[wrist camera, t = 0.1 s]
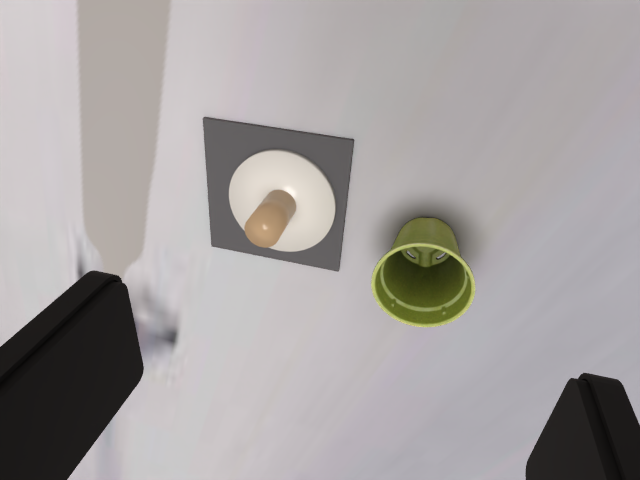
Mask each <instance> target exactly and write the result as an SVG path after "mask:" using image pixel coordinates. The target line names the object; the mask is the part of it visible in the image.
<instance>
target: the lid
mask: <svg viewBox="0 0 640 480" xmlns="http://www.w3.org/2000/svg"><path fill="white" fill-rule="evenodd" d="M229 202H230V206H231V209H232V212H233V215H234V217H235V219H236V220H237V222H238V223H239V225H240V226H241V228H242V229H243V230H244V231H245V234H246V236H247V238H248V239H249V240H250V241H251V242H252V243H253V244H255V245H257V246H259V247H264V248H267V247H269V248H271V249H275V250H279V251H286V252H294V251H301V250H305V249H308V248H310V247H312V246H314V245H316V244H317V243H319V242H320V241H321V240H322V239H323V238H324V237H325V236H326V235H327V233H328V232H329V230H330V228H331V226H332V224H333V221H334V218H335V214H336V197H335V193H334V190H333V187H332V185H331V183H330V181H329V179H328V177H327V176H326V175H325V173H324V172H323V171H322V170H321V169H320V167H319V166H317V165H316V164H315V163H314V162H313V161H311V160H310V159H308V158H307V157H305V156H303V155H301V154H299V153H296V152H293V151H290V150H285V149H268V150H263V151H260V152H257V153H255V154H253V155H251V156H250V157H249V158H247V159H246V160H245V161H244V162H243V163H242V164H241V165H240V166H239V167H238V168H237V170H236V171H235V173H234V174H233V176H232V179H231V182H230V187H229Z"/></svg>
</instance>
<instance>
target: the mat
mask: <svg viewBox="0 0 640 480" xmlns="http://www.w3.org/2000/svg"><path fill="white" fill-rule="evenodd" d="M203 127H204V142H205V157H206V171H207V186H208V201H209V216H210V230H211V245H212V246H213V247H218V248H223V249H228V250H233V251H238V252H243V253H248V254H253V255H258V256H263V257H268V258H273V259H278V260H283V261H288V262H293V263H298V264H303V265H308V266H313V267H318V268H323V269H328V270H333V271H339V266H340V257H341V248H342V240H343V231H344V222H345V213H346V205H347V196H348V187H349V179H350V170H351V161H352V152H353V144H354V140H353V139H347V138H340V137H333V136H327V135H320V134H313V133H307V132H300V131H293V130H287V129H280V128H273V127H267V126H260V125H254V124H247V123H240V122H234V121H227V120H220V119H214V118H207V117H204V118H203ZM268 149H285V150H290V151H293V152H296V153H299V154H301V155H303V156H305V157H307V158H308V159H310V160H311V161H313V162H314V163H315V164H316V165H317V166H319V167H320V169H321V170H322V171H323V172H324V173H325V175H326V176H327V177H328V179H329V181H330V183H331V185H332V187H333V190H334V193H335V197H336V214H335V218H334V221H333V224H332V226H331V228H330V230H329V232H328V233H327V235H326V236H325V237H324V238H323V239H322V240H321V241H320V242H319V243H317V244H316V245H314V246H312V247H310V248H308V249H305V250H301V251H294V252H286V251H279V250H275V249H271V248H269V247H267V248H264V247H259V246H257V245H255V244H253V243H252V242H251V241H250V240H249V239H248V238H247V236H246V234H245V231H244V230H243V229H242V228H241V226H240V225H239V223H238V222H237V220H236V219H235V217H234V215H233V212H232V209H231V206H230V202H229V187H230V182H231V179H232V176H233V174H234V173H235V171H236V170H237V168H238V167H239V166H240V165H241V164H242V163H243V162H244V161H245V160H246V159H247V158H249V157H250V156H251V155H253V154H255V153H257V152H260V151H263V150H268Z"/></svg>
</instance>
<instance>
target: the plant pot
mask: <svg viewBox="0 0 640 480" xmlns="http://www.w3.org/2000/svg"><path fill="white" fill-rule="evenodd" d="M407 250H408V251H409V252H410V253H411V254H412V255H413V256H414V257H416V258H412V257H410V256H409V255H408V254H407V252H406V251H407ZM444 252H446V254H445V255H444V257H442V258H441V259H436V257H438V256H440V255H441V254H443V253H444ZM371 287H372V292H373V295H374V298H375V300H376V302H377V303H378V305H379V306H380V307H381V309H382V310H383V311H385V312H386V313H387V314H388V315H389V316H391V317H392V318H394V319H396V320H398V321H400V322H402V323H405V324H408V325H412V326H417V327H436V326H441V325H444V324H447V323H450V322H452V321H454V320H456V319H457V318H459V317H460V316H461V315H463V314H464V313H465V312H466V311H467V309H468V308H469V306H470V305H471V303H472V301H473V298H474V295H475V280H474V276H473V273H472V271H471V269H470V267H469V266H468V264H467V263H466V262H465V261H464V260H463V259H462V258H461V256H460V252H459V249H458V245H457V242H456V239H455V236H454V233H453V231H452V230H451V228H450V227H449V226H448V225H447V224H446V223H444V222H443V221H441V220H439V219H436V218H416V219H413V220H411V221H409V222H408V223H406V224H405V225H404V226H403V227H402V229H401V230H400V232H399V234H398V236H397V238H396V240H395V242H394V244H393V246H392V248H391V250H390V251H389V252H387V253H386V254H385V255H384V256H383V257H382V258H381V259H380V260H379V262H378V263H377V265H376V267H375V269H374V271H373V274H372V280H371Z"/></svg>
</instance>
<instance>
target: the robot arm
mask: <svg viewBox="0 0 640 480" xmlns="http://www.w3.org/2000/svg"><path fill="white" fill-rule="evenodd" d="M143 369H144V367H143V361H142V356H141V352H140V347H139V342H138V337H137V332H136V327H135V323H134V318H133V313H132V308H131V303H130V299H129V294H128V289H127V286H126V285H125V284H124V283H122V280H121V278H120V277H119V276H117V275H113V274H108V273H104V272H99V271H90V272H88V273H87V274H85V275H84V276H83V277H82V278H81V279H79V280H78V281H77V282H76V283H75V284H73V285H72V286H71V287H70V288H69V289H68V290H66V291H65V292H64V293H63V294H62V295H61V296H59V297H58V298H57V299H56V300H55V301H54V302H52V303H51V304H50V305H49V306H48V307H47V308H45V309H44V310H43V311H42V312H41V313H40V314H38V315H37V316H36V317H35V318H34V319H33V320H31V321H30V322H29V323H28V324H27V325H25V326H24V327H23V328H22V329H21V330H20V331H18V332H17V333H16V334H15V335H14V336H13V337H11V338H10V339H9V340H8V341H7V342H6V343H4V344H3V345H2V346H1V347H0V480H67V479H68V478H69V476H70V475H71V474H72V472H73V471H74V470H75V468H76V467H77V465H78V464H79V463H80V461H81V460H82V459H83V457H84V456H85V455H86V453H87V452H88V451H89V449H90V448H91V447H92V445H93V444H94V442H95V441H96V440H97V438H98V437H99V436H100V434H101V433H102V432H103V430H104V429H105V428H106V426H107V425H108V424H109V422H110V421H111V419H112V418H113V417H114V415H115V414H116V413H117V411H118V410H119V409H120V407H121V406H122V405H123V403H124V402H125V401H126V399H127V398H128V397H129V395H130V394H131V392H132V391H133V390H134V388H135V387H136V386H137V384H138V383H139V381H140V380H141V377H142V374H143ZM526 480H640V425H639V423H638V420H637V418H636V416H635V413H634V411H633V408H632V406H631V404H630V401H629V399H628V396H627V394H626V392H625V389H624V387H623V385H622V383H621V382H620V381H619V380H617V379H612V378H608V377H603V376H598V375H593V374H588V373H583V374H581V375H580V377H579V378H578V379H574V378H571V379H569V381H568V382H567V384H566V386H565V388H564V390H563V392H562V394H561V396H560V398H559V400H558V402H557V404H556V406H555V408H554V410H553V412H552V414H551V416H550V417H549V419H548V421H547V423H546V425H545V427H544V429H543V431H542V433H541V435H540V437H539V439H538V441H537V443H536V445H535V447H534V449H533V451H532V453H531V455H530V457H529V459H528V461H527V465H526Z"/></svg>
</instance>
